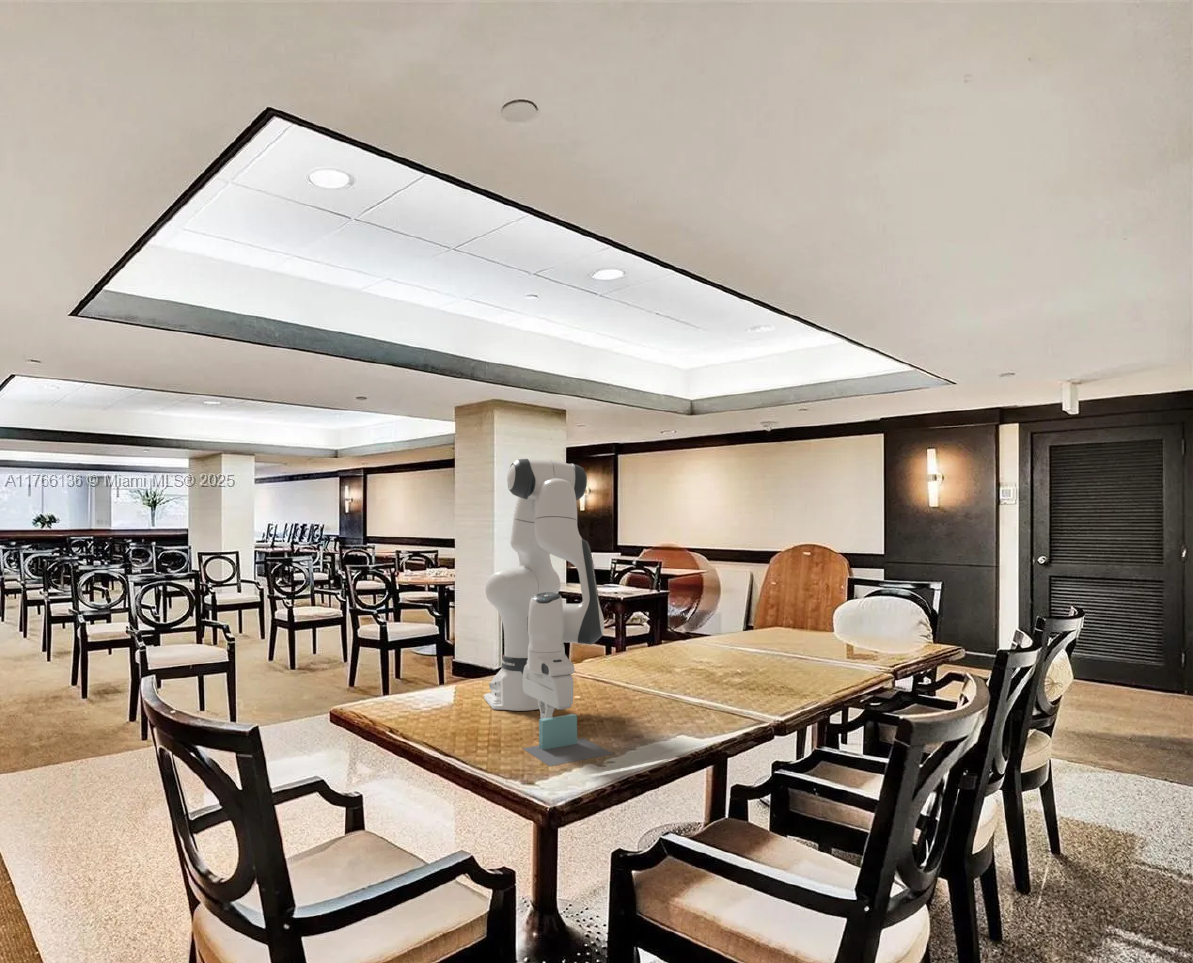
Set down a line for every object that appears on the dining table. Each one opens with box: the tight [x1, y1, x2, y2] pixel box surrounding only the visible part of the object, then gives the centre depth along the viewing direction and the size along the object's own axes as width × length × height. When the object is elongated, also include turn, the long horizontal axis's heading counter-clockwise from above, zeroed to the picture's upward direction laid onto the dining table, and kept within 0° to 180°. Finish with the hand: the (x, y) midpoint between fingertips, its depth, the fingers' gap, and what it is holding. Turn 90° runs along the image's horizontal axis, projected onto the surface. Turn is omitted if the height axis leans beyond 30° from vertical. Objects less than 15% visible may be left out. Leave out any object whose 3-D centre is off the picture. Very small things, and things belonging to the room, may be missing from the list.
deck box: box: [538, 713, 578, 750], centre depth 176 cm, size 2×9×6 cm, turn 120°
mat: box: [522, 737, 614, 767], centre depth 172 cm, size 14×16×1 cm
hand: (546, 720), depth 181 cm, fingers closed
